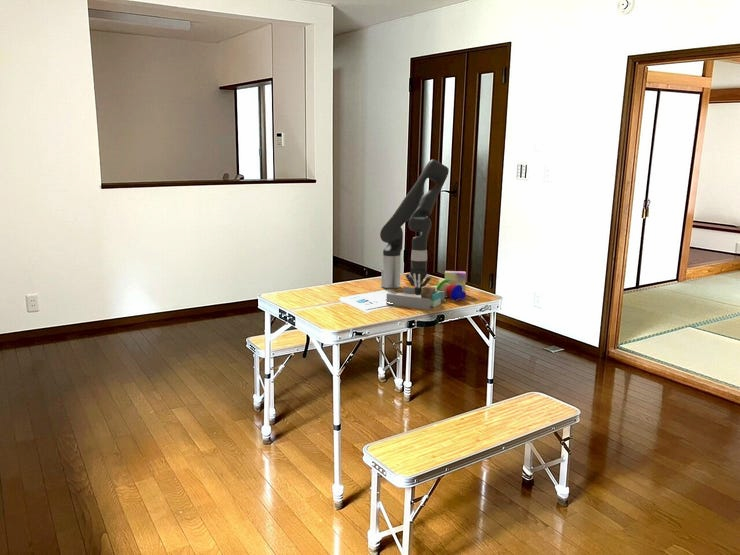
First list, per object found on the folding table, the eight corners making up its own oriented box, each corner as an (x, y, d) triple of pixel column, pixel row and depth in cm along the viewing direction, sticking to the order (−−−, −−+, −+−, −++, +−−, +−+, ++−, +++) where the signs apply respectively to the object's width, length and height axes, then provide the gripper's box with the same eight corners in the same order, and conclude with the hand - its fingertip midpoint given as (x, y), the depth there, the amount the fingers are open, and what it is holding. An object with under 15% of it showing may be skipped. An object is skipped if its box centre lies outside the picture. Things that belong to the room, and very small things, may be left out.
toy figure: (465, 305, 303) (441, 294, 313) (470, 286, 301) (446, 277, 311) (454, 306, 297) (430, 295, 307) (458, 287, 294) (434, 277, 304)
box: (464, 293, 317) (465, 271, 314) (465, 296, 311) (466, 273, 309) (444, 293, 318) (444, 270, 315) (444, 295, 312) (445, 272, 310)
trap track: (386, 304, 295) (386, 291, 293) (403, 296, 310) (404, 284, 309) (429, 310, 284) (429, 297, 283) (444, 301, 300) (445, 289, 298)
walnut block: (421, 298, 292) (421, 288, 291) (425, 296, 297) (425, 286, 296) (430, 300, 290) (431, 289, 289) (435, 298, 294) (435, 287, 293)
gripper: (402, 258, 292) (402, 294, 296) (428, 261, 286) (427, 298, 289) (409, 256, 298) (409, 291, 302) (435, 259, 292) (434, 295, 296)
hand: (418, 294), depth 296 cm, fingers closed
